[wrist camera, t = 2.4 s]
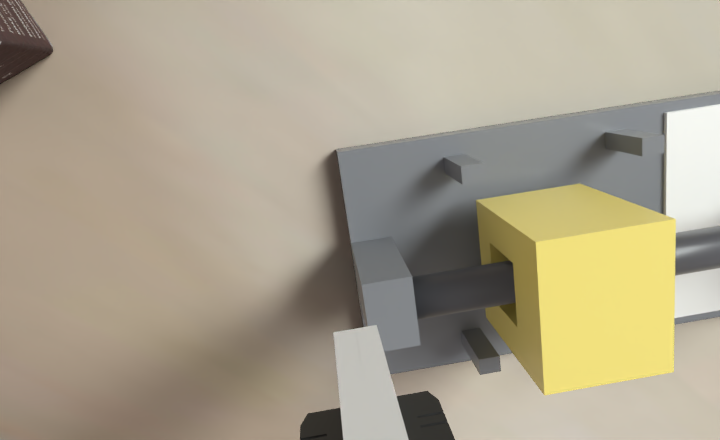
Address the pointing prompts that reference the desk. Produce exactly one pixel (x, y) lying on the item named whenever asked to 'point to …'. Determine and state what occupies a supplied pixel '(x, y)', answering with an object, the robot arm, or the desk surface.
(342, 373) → the robot arm
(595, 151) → the gray rail plate
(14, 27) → the box
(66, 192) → the desk surface
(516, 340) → the sleeve
